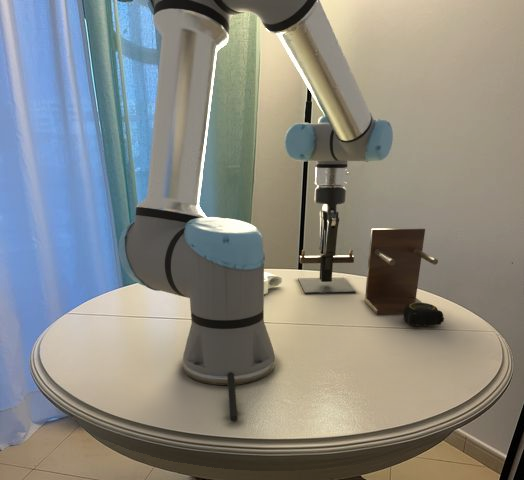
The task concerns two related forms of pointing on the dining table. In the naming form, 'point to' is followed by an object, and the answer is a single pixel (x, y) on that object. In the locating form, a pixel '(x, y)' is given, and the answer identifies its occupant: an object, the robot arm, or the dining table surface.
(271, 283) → the white brass knuckles
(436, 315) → the tape measure
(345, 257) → the hanger
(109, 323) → the dining table surface
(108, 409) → the dining table surface
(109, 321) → the dining table surface
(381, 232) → the rack
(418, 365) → the dining table surface
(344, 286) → the mat
